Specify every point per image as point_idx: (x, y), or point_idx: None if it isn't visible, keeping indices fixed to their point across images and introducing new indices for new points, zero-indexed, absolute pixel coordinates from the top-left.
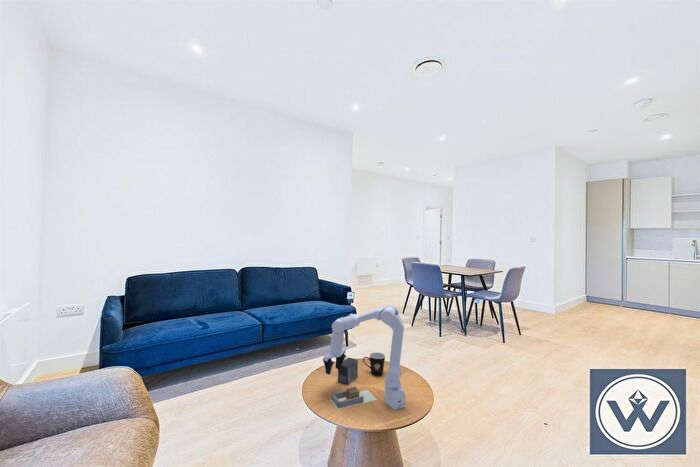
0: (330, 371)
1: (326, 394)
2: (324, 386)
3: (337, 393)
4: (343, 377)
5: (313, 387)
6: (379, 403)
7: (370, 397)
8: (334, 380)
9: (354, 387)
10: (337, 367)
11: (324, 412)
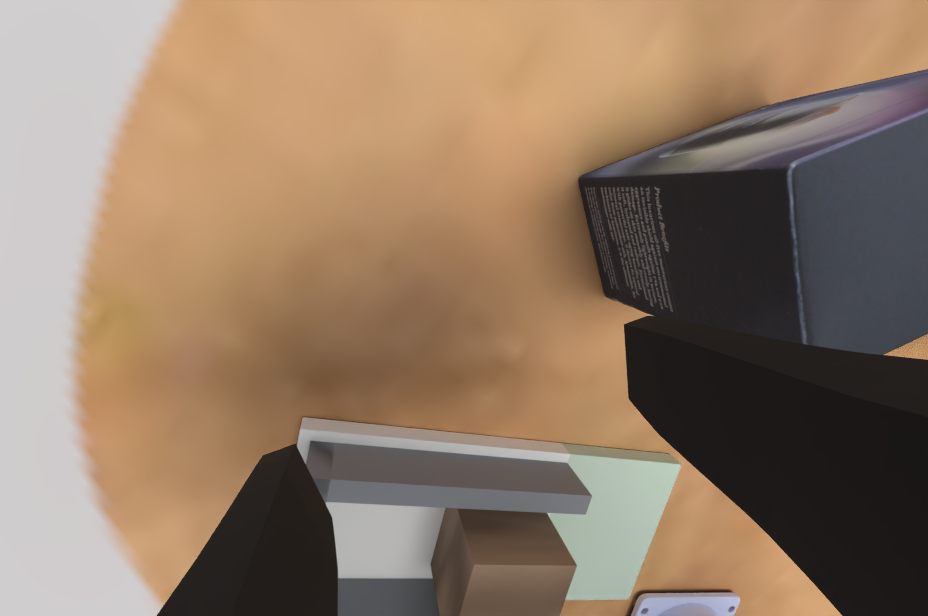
0: (324, 611)
1: (341, 293)
2: (420, 122)
3: (371, 501)
4: (650, 265)
5: (279, 42)
6: (614, 604)
7: (613, 561)
8: (601, 80)
9: (558, 579)
10: (645, 379)
11: (151, 550)
